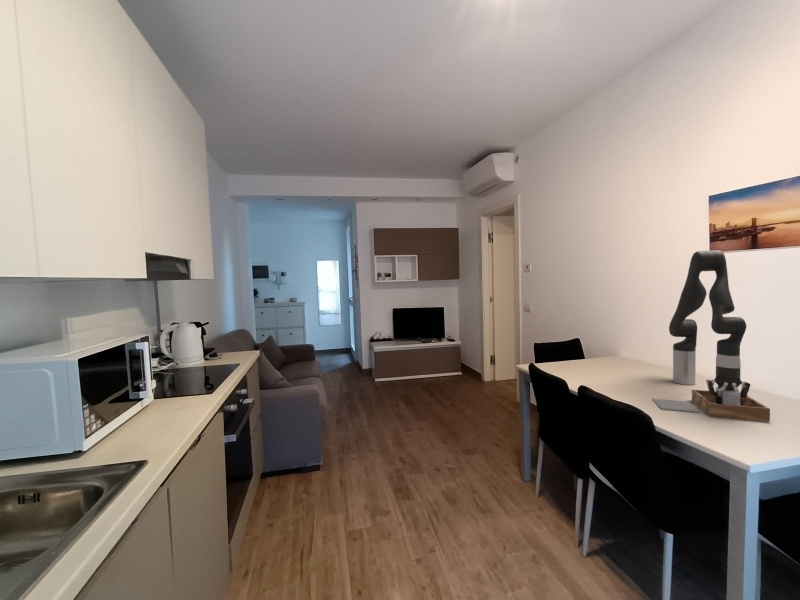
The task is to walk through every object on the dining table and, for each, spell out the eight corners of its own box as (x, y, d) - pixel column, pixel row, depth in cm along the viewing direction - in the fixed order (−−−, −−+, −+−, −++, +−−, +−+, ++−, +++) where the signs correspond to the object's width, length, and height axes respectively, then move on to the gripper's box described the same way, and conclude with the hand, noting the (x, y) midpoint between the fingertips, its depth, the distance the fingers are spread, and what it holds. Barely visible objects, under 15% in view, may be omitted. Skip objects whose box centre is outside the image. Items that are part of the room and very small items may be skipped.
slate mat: (652, 399, 164) (652, 398, 164) (687, 402, 159) (687, 401, 159) (661, 409, 152) (661, 408, 152) (699, 412, 147) (699, 411, 147)
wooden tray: (691, 400, 162) (691, 389, 161) (743, 404, 155) (743, 392, 154) (710, 416, 143) (710, 404, 143) (769, 421, 136) (770, 408, 136)
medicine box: (740, 413, 145) (741, 392, 144) (727, 413, 146) (728, 392, 145) (727, 407, 152) (727, 386, 152) (715, 406, 153) (715, 386, 153)
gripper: (745, 364, 149) (745, 404, 150) (702, 362, 154) (702, 401, 155) (755, 368, 142) (754, 410, 143) (709, 366, 147) (709, 407, 148)
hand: (727, 405), depth 149 cm, fingers closed on medicine box, 5 cm apart
